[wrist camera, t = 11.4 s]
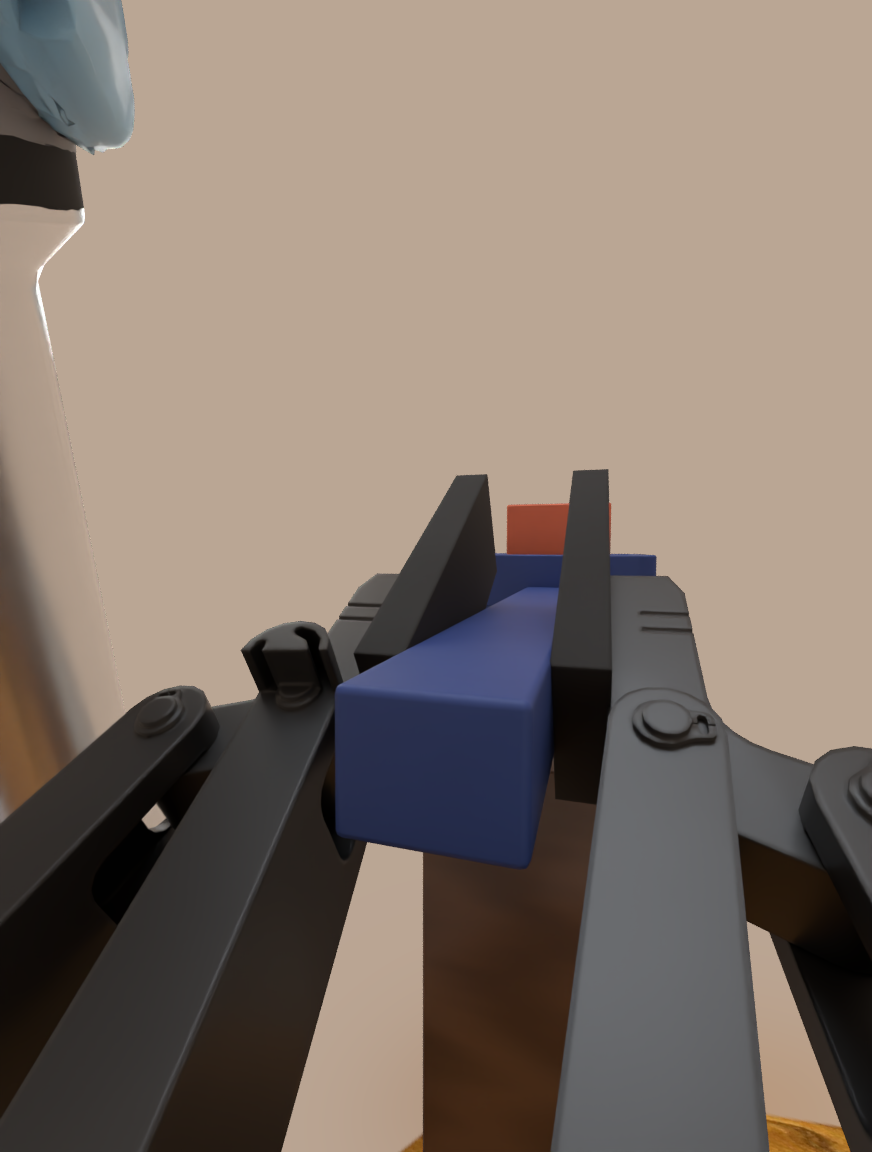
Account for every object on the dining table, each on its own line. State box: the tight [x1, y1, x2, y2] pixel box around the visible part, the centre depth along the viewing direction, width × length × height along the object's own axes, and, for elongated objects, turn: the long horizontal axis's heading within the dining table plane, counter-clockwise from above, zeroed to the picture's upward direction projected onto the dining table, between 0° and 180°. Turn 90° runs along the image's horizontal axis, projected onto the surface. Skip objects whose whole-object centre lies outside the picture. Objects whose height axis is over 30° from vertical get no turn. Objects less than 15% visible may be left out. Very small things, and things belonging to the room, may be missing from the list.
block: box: [507, 503, 611, 555], centre depth 23 cm, size 4×4×4 cm
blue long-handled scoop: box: [335, 553, 656, 870], centre depth 15 cm, size 7×22×3 cm, turn 163°
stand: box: [423, 758, 597, 1152], centre depth 23 cm, size 8×12×30 cm, turn 163°
